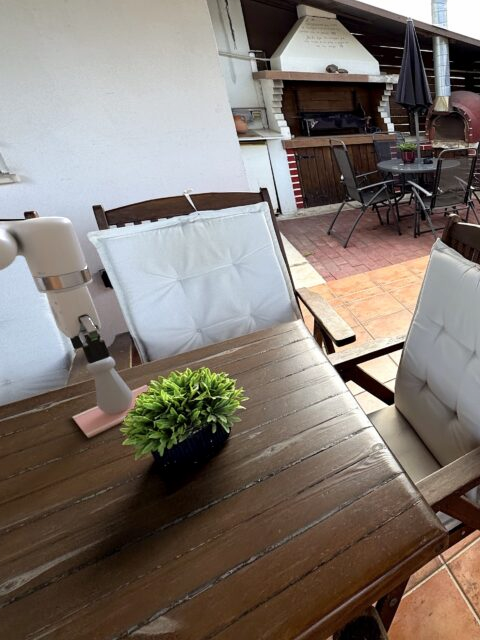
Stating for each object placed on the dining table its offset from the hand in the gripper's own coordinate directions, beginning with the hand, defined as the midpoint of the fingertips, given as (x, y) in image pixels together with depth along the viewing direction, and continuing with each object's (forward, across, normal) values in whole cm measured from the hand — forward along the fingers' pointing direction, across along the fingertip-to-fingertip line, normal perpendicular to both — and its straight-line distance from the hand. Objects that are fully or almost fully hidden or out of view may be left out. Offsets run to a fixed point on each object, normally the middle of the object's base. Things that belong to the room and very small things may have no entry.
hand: (91, 352), depth 85 cm
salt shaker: (+15, 0, +1) cm, 15 cm away
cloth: (+16, 0, +1) cm, 16 cm away
